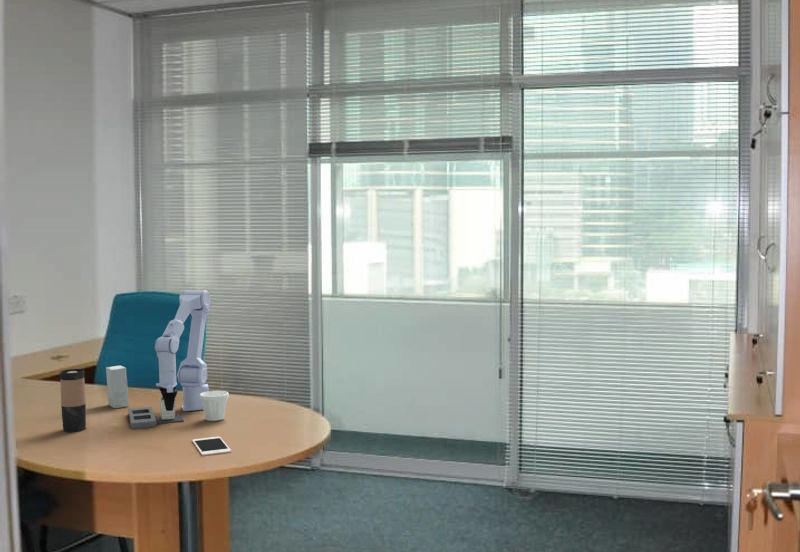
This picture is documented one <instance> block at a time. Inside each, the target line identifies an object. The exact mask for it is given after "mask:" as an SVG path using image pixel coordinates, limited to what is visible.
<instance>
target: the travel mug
mask: <svg viewBox="0 0 800 552" xmlns="http://www.w3.org/2000/svg"><path fill="white" fill-rule="evenodd" d="M59 376H60V380H59V381H60V407H61V420H62V429H63V432H65V433H76V432H77V433H78V432H82V431H85V430H86V429H87V427H86V425H87V424H86V423H87V420H86V419H87V418H86V416H87V413H86V412H87V409H86V408H87V407H86V403H87V402H86V384H85V383H86V382H85V370H84V369H82V368H72V369H64V370H61V371H60V372H59Z"/></svg>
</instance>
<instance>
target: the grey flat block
mask: <svg viewBox="0 0 800 552" xmlns="http://www.w3.org/2000/svg"><path fill="white" fill-rule="evenodd" d="M127 412H128V419H129V423H130V427H131V430H135V429H136V430H137V429H146V428H154V427H155V428H156V427H157V423H156V419H155V417H156V416H155V414H154V411H153V408H152V406H149V407H147V406H146V407H136V408H128V410H127Z"/></svg>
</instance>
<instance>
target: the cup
mask: <svg viewBox="0 0 800 552" xmlns="http://www.w3.org/2000/svg"><path fill="white" fill-rule="evenodd" d="M229 395H230V394H229V392H228V391H227V390H226V391H225V390H209V391H208V392H203V393H201V394H200V399H201V402H202V406H203V412H204V417H205V420H206V421H207V422H221V421H222V420H223V421H224V419H225V413H226V407H227V401H228V399H229Z"/></svg>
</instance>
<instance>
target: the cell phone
mask: <svg viewBox="0 0 800 552" xmlns="http://www.w3.org/2000/svg"><path fill="white" fill-rule="evenodd" d="M191 442H192V444H193V445H194V447H195V448H196V449H197V451H198V453H199V454H200V455H201V457H206V456H208V457H209V456H215V455H222V454H230V453H232V449H231V448H230V447H229V446H228V445H227V443H226V442H225V441H224V440H223V438H222V437H221V436H212V437H204V438H202V437H201V438H195V439H194V438H193V439H192V441H191Z"/></svg>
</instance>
